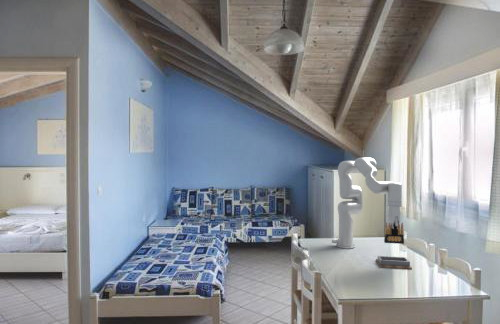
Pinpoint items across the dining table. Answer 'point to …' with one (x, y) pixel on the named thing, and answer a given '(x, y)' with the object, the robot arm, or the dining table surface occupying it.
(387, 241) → the ammunition clip
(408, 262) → the pocket board
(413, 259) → the dining table surface
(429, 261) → the dining table surface
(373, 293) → the dining table surface
